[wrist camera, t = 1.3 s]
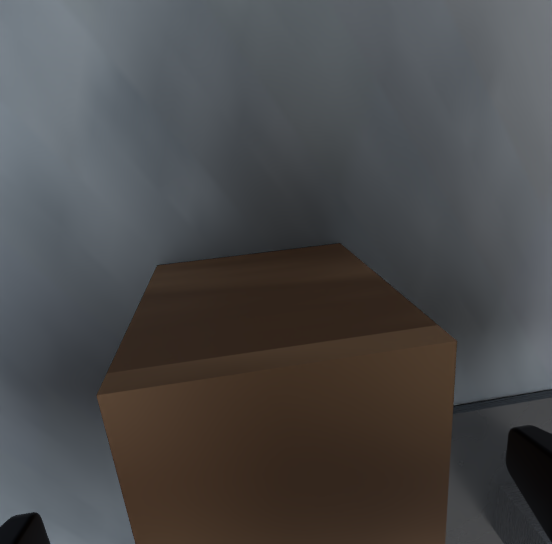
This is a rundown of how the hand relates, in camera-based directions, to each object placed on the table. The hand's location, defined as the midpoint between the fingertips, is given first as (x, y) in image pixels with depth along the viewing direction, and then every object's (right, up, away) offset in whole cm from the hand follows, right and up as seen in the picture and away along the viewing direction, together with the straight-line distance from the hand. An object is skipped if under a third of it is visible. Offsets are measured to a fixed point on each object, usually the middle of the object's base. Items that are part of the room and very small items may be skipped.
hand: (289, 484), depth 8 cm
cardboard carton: (-1, +2, +6) cm, 6 cm away
